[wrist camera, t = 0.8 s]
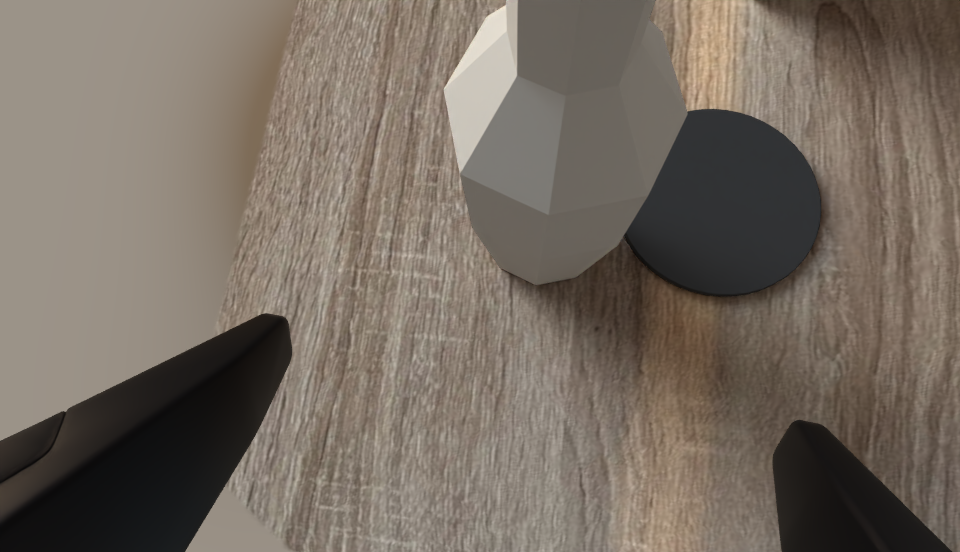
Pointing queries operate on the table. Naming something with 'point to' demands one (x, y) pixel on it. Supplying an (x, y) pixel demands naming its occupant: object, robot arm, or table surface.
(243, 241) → the table surface
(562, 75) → the faceted bottle
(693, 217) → the coaster
